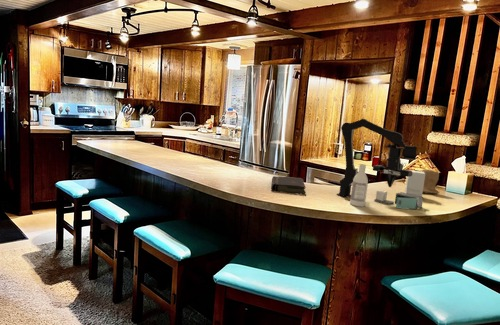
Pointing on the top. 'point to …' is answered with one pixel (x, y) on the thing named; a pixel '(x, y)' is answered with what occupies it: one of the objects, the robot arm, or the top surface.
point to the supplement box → (415, 183)
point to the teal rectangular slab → (406, 203)
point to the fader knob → (381, 195)
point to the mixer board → (384, 201)
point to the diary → (288, 184)
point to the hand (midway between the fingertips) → (389, 187)
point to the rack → (406, 195)
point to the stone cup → (430, 181)
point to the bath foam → (359, 187)
